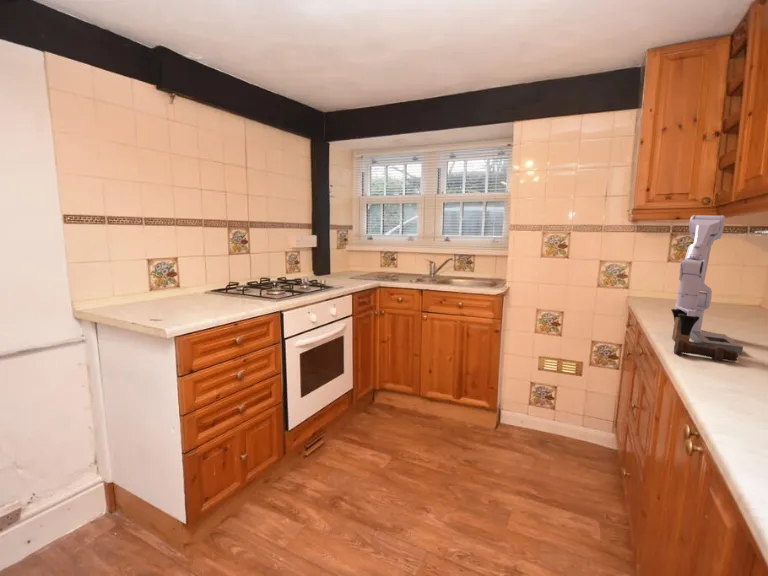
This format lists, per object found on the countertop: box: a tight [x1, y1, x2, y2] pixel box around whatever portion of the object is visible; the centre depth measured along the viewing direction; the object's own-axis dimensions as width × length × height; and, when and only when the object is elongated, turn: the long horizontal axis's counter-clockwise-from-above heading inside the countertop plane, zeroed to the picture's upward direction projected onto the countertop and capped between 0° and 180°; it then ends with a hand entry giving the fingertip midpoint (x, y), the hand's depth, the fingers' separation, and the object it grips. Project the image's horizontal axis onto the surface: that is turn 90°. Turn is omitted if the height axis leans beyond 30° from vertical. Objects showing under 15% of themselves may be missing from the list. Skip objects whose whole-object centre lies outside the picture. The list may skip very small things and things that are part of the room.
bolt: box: [673, 338, 739, 362], centre depth 123 cm, size 6×5×15 cm
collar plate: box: [690, 331, 744, 355], centre depth 136 cm, size 16×10×2 cm, turn 156°
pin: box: [671, 317, 691, 343], centre depth 140 cm, size 4×4×8 cm
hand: (681, 332), depth 140 cm, fingers open, 7 cm apart
